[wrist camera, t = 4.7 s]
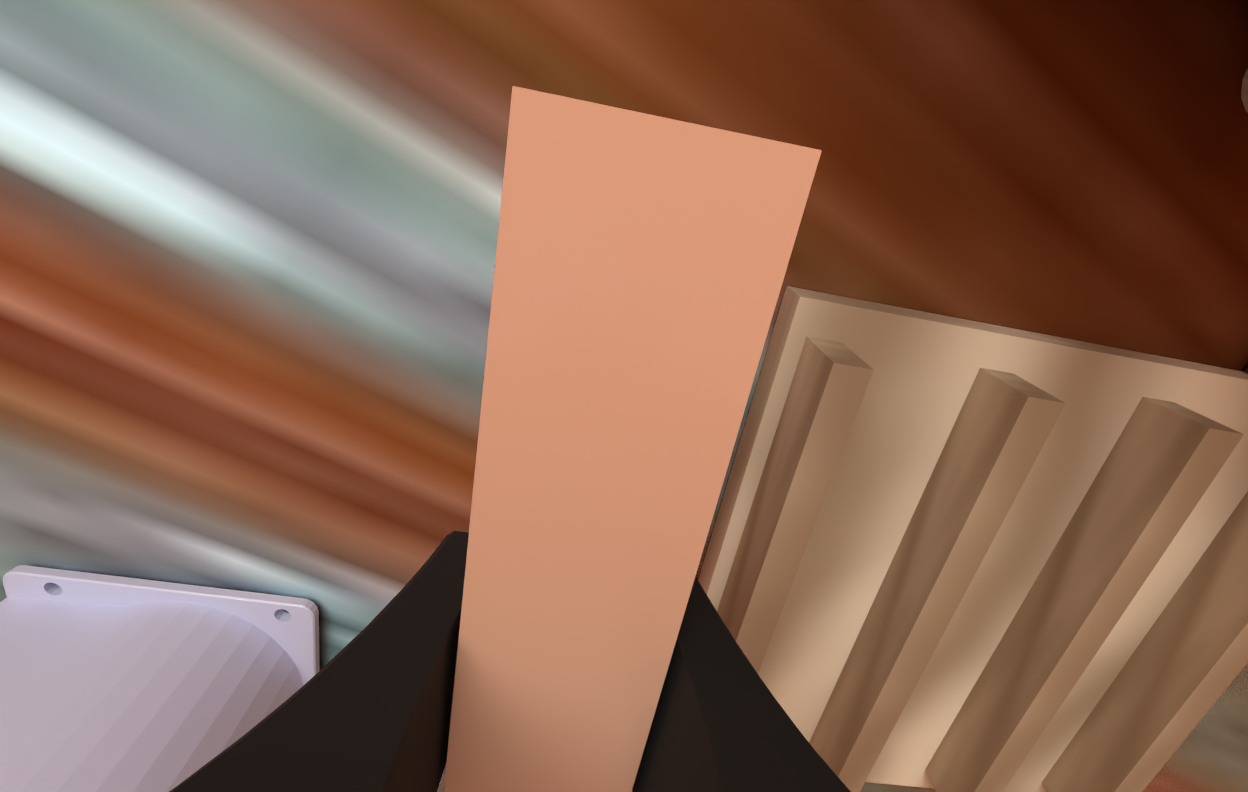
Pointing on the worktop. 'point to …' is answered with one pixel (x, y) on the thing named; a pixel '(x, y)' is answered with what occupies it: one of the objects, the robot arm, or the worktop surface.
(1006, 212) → the worktop surface
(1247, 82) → the toaster
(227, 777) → the robot arm
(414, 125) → the worktop surface
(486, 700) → the clay strip
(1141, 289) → the worktop surface
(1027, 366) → the drying rack
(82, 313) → the worktop surface
